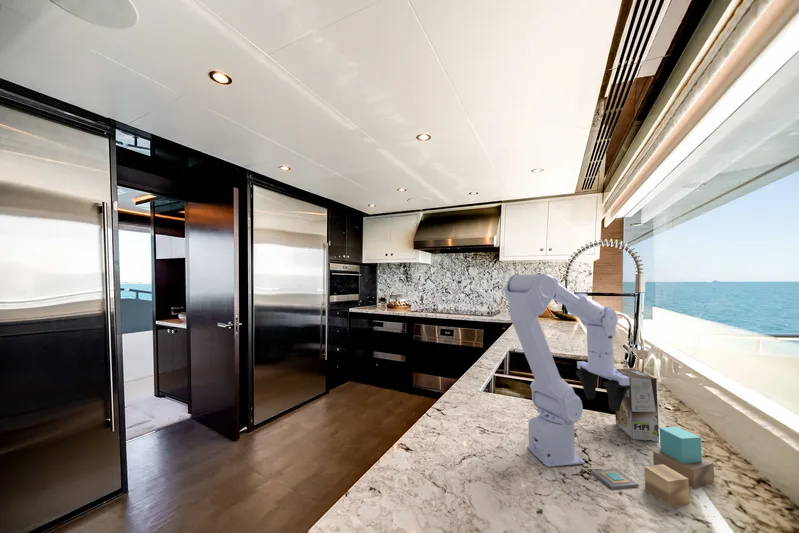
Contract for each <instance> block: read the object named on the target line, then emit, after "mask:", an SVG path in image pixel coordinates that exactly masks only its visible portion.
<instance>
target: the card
mask: <svg viewBox="0 0 799 533" xmlns="http://www.w3.org/2000/svg"><path fill="white" fill-rule="evenodd" d="M591 474H593V475H594V476H595V477H596V478H597V479H598V480H600V482H602V483H604V485H606V486H607V487H608V488H609V489H611V491H612V490H620V489H629V488H638V487H639V483H637V482H636V480H635V481H634V480H633V479H632V478H631V477H629V476H627V475H626V474H625V473H623V472H622V471H621V470H619V469H618V468H610V469H609V468H608V469H599V470H598V469H597V470H592V471H591Z"/></svg>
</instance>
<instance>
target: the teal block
mask: <svg viewBox="0 0 799 533" xmlns="http://www.w3.org/2000/svg"><path fill="white" fill-rule="evenodd" d="M659 449H660V451H662V452H663V453H665V454H667V455H669V456H670V457H672V458H674V459H676V460H677V461H679V462H681V463H695V462H702V458H703V456H702V454H703V453H702V438H701V437H700V436H699V435H696V434H695V433H692V432H690V431H688V430H685V429H684V428H682V427H679V426H668V427H659Z"/></svg>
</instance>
